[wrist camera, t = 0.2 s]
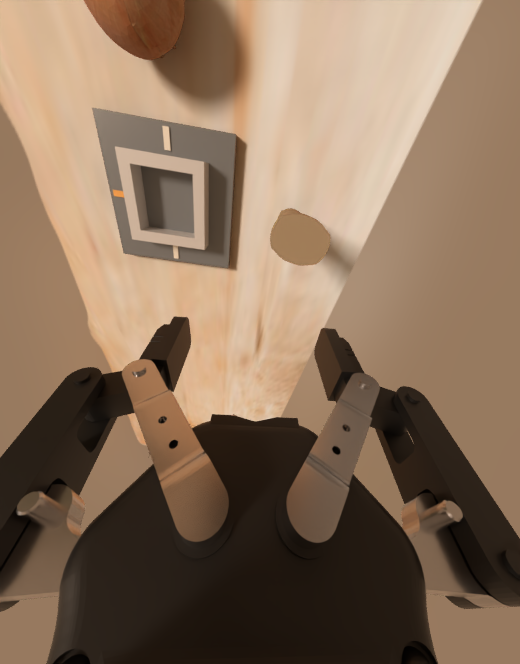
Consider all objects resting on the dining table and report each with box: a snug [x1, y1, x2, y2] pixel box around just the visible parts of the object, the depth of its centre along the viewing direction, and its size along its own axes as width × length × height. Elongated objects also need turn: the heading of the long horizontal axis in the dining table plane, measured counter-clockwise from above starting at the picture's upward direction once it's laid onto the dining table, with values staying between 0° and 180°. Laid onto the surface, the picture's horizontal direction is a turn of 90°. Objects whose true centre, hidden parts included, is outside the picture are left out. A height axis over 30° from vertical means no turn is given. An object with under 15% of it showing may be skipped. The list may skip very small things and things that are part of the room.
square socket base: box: [92, 108, 237, 268], centre depth 32 cm, size 18×18×4 cm
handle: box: [270, 208, 330, 265], centre depth 29 cm, size 5×6×15 cm
